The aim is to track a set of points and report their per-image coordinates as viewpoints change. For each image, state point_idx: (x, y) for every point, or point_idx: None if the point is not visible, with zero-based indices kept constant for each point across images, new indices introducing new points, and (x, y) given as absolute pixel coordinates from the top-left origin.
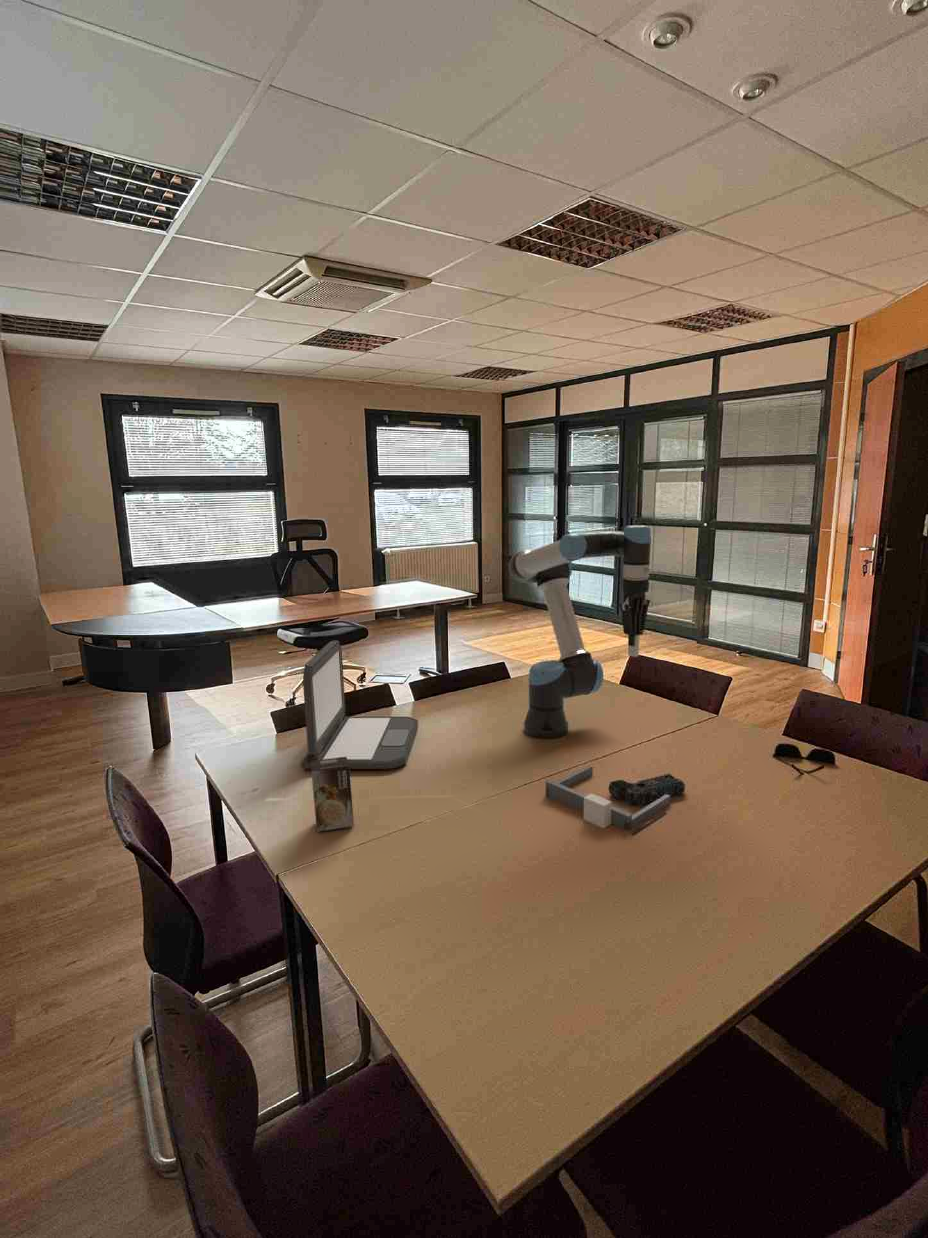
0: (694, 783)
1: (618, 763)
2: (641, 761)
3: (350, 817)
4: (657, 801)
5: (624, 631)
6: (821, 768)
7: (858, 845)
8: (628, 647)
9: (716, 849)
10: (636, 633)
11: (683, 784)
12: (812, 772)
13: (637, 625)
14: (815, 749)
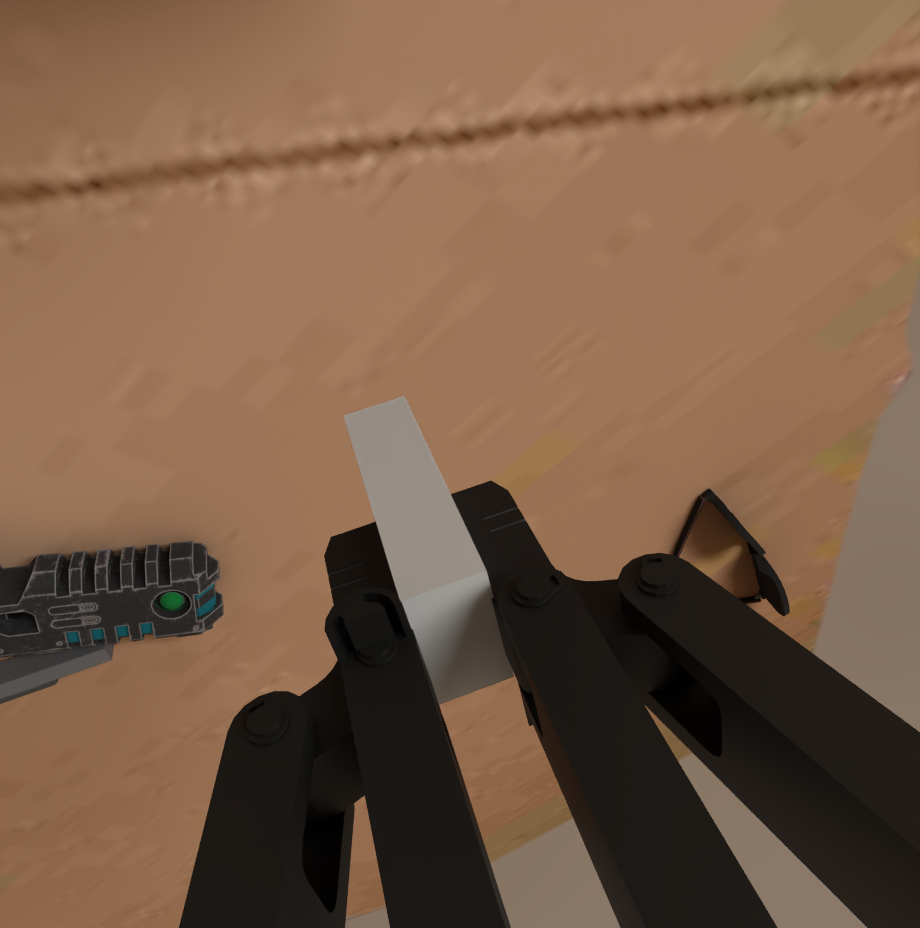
0: (310, 550)
1: (125, 294)
2: (250, 325)
3: None
4: (35, 678)
5: (230, 766)
6: None
7: None
8: (361, 474)
9: (85, 818)
10: (507, 659)
11: (206, 629)
12: None
13: (563, 793)
14: (777, 588)
